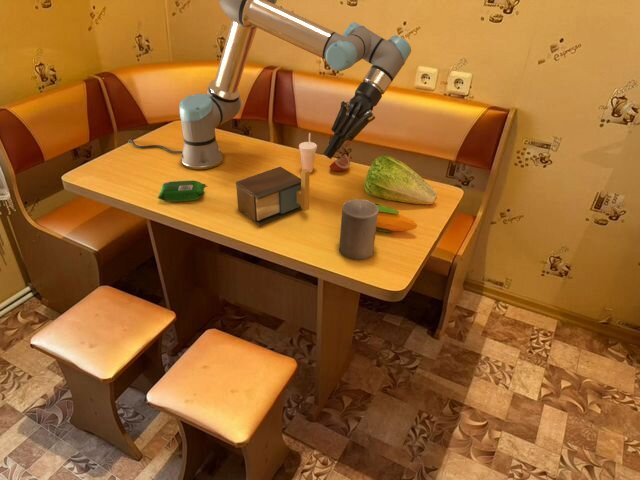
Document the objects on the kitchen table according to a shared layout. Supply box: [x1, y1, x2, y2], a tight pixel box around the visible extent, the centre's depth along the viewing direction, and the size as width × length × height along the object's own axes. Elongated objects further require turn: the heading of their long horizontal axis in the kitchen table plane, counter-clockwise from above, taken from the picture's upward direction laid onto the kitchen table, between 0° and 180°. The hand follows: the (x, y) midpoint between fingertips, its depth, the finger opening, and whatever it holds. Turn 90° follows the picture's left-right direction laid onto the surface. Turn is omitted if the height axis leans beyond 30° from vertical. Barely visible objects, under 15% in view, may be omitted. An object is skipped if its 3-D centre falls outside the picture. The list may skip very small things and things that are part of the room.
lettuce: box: [363, 154, 438, 205], centre depth 158 cm, size 14×23×14 cm
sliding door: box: [280, 169, 310, 214], centre depth 150 cm, size 5×8×14 cm, turn 126°
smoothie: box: [298, 132, 318, 174], centre depth 175 cm, size 6×6×14 cm
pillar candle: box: [338, 198, 378, 261], centre depth 135 cm, size 10×10×15 cm
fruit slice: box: [329, 153, 351, 172], centre depth 177 cm, size 8×7×5 cm
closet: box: [235, 166, 303, 227], centre depth 155 cm, size 12×17×10 cm
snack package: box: [157, 180, 208, 203], centre depth 163 cm, size 7×16×5 cm, turn 94°
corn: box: [374, 203, 418, 233], centre depth 146 cm, size 7×8×20 cm
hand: (327, 156), depth 148 cm, fingers closed
